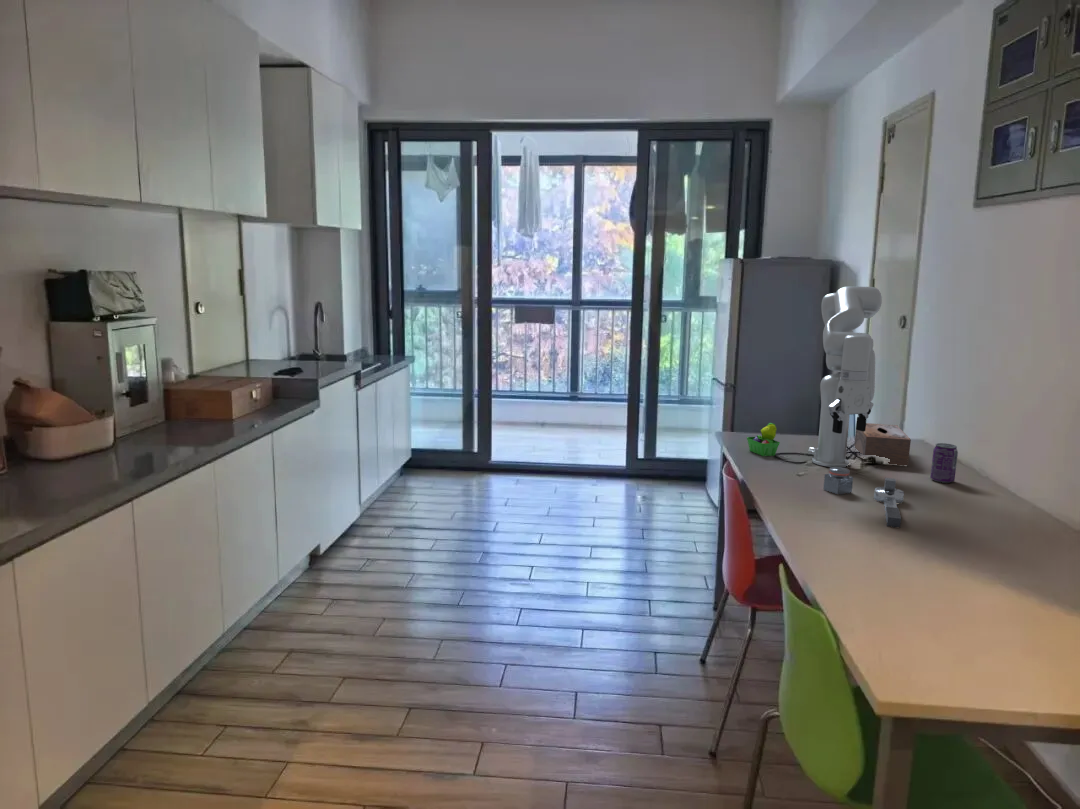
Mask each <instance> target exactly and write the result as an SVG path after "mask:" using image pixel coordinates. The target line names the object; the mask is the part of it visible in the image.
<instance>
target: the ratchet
mask: <svg viewBox="0 0 1080 809" xmlns="http://www.w3.org/2000/svg"><path fill="white" fill-rule="evenodd" d="M896 484H897V481H896V478H891V477H885V478H884V486H877V487H875V488H874V490H873V491H874V492H873V500H874V499H875V500H877V501H876V502H878V501H881V502H884V503H883V507H884V506H885V508H884V513H885V514H884V517H885V516H886V518H885V523H886V522H887V524H886V527H888V526H892V527H891V528H895V527H900V528H901V522H902V515H901V513H900V508H899V507H898V506H897V505H898V504H896V503H902V502H903V503H904V498H905V497H904V495H905V492H904V490H901V489H899V488H896ZM875 500H874V501H875ZM881 502H880V503H881ZM903 503H902V504H903ZM885 511H886V512H885Z"/></svg>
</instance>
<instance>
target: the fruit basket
mask: <svg viewBox="0 0 1080 809" xmlns="http://www.w3.org/2000/svg"><path fill="white" fill-rule="evenodd" d="M760 433H761V435H758V434H757V435H756V436H748V437H746V441H747V443H748V448H749V449H748V450H749V452H751V453H754V454H757V455H760V456H761V457H772V456H773V457H774V456H776V453H777V450H778V448H779V446H780V444H781V442H780V441H777V440H775V438H776V435H777V426H776V424H775V423H773V422H768V424H767V425H766V426H764V427H762V429H760Z"/></svg>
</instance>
